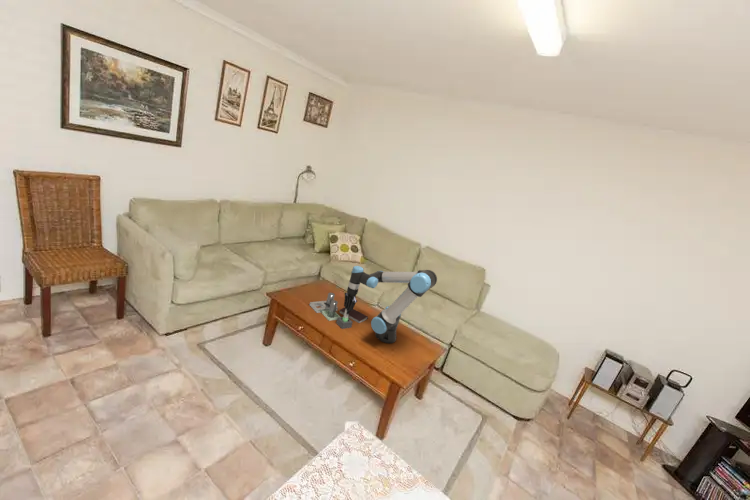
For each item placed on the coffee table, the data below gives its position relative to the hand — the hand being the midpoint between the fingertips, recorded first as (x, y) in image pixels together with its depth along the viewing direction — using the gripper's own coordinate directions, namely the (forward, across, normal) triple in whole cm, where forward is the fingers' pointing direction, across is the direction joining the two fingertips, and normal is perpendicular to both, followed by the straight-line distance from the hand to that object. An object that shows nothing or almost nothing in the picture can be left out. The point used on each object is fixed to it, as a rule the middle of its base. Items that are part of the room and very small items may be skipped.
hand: (345, 317), depth 248 cm
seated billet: (+7, +26, -2) cm, 27 cm away
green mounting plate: (+7, +13, +3) cm, 15 cm away
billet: (+6, +13, +3) cm, 15 cm away
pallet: (+7, +26, +2) cm, 27 cm away
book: (+8, +11, -16) cm, 20 cm away
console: (+7, 0, 0) cm, 7 cm away
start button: (+5, 0, 0) cm, 5 cm away
